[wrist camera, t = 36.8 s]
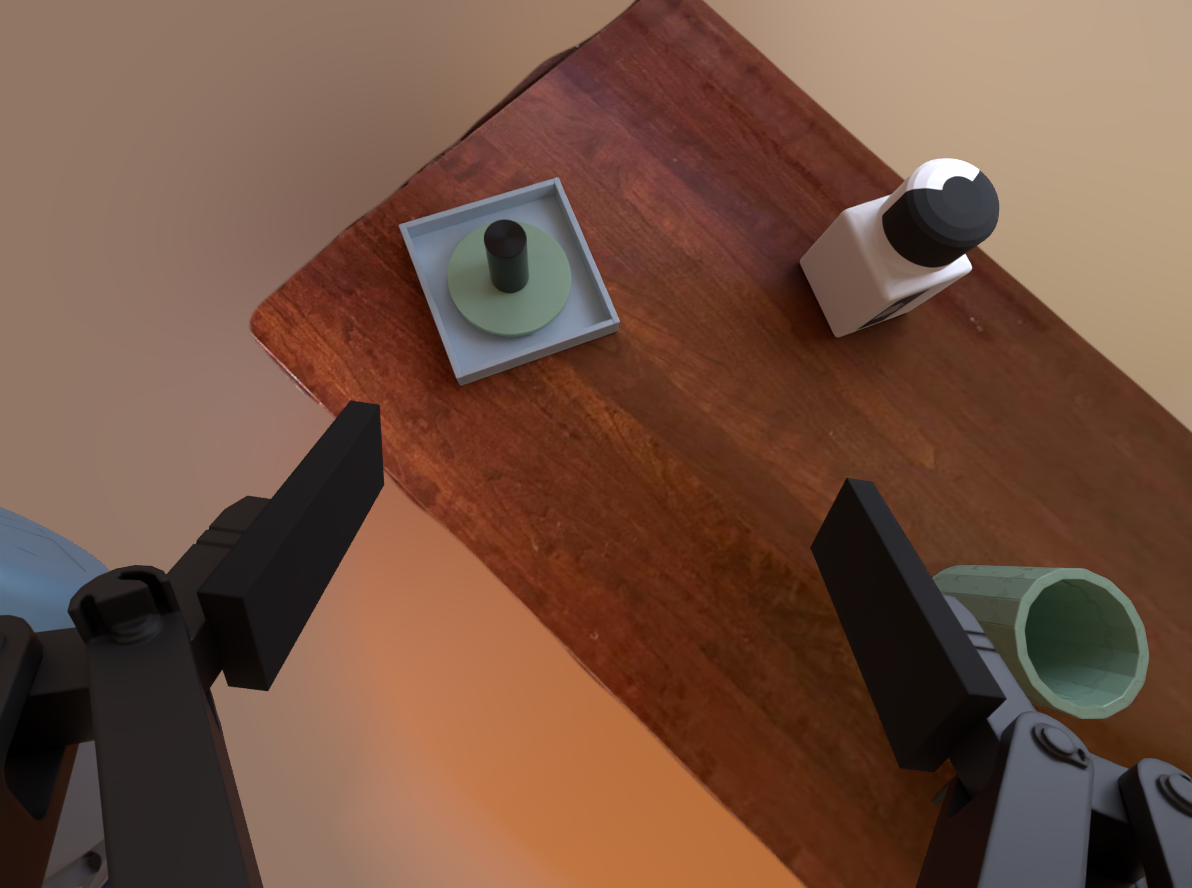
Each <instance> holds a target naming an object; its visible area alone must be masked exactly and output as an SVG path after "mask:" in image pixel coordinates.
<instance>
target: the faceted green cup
mask: <svg viewBox="0 0 1192 888" xmlns="http://www.w3.org/2000/svg"><path fill="white" fill-rule="evenodd" d="M932 579H933V580H934V582H935V583H936V585H937V587H938V588H939V590H940V591H941V593H942V594H945V595H951V596H954V597H955V598H956V599H957V600H958V601H960V602H961V603H962V604H963V605H964V606H965V607H966V608H967V609H968V610H969V611H970V612H971V613H972V614H973V615H974V617H975V618H976V620H977V621H978V623H979V624H980V626H981V627H982V629H983V631H984V632H985V637H988V638H989V640H990V641H991V643H992V644H993V646H994V647H995V652H996V653H999V655H1000V657H1001V658H1002V660H1003V661H1004V663H1005V664H1006V666H1007V667H1008V669H1009V670H1010V672H1011V673H1012V675H1013V676H1014V678H1015V679H1016V681H1017V683H1018V684H1019V686H1020V687H1021V689H1022V690H1023V692H1024V693H1025V695H1026V696H1027V698H1028V699H1029V701H1030V702H1031V704H1034V705H1038V706H1041V707H1044V708H1047V709H1051V710H1054V711H1057V712H1060V713H1063V714H1067V715H1070V716H1073V717H1076V718H1080V719H1097V718H1107V717H1110V716H1111V715H1113V714H1115V713H1117V712H1119V711H1121V710H1122V709H1124V708H1126V707H1128V706H1129V705H1130V704H1131V703H1132V701H1133V700H1134V698H1135V697H1136V695H1137V694H1138V692H1139V691H1140V689H1141V688H1142V686H1143V685H1144V684H1143V683H1145V677H1146V672H1147V667H1148V661H1149V651H1148V645H1147V639H1146V633H1145V628H1144V625H1143V623H1142V621H1141V619H1140V617H1139V615H1138V613H1137V612H1136V610H1135V608H1134V606H1133V604H1132V602H1131V601H1130V599H1129V598H1128V597H1127V596H1126V595H1124V594H1123V593H1122V592H1121V591H1120V590H1119V589H1118V588H1117V587H1116V586H1115V585H1114V584H1113V583H1112V582H1111V581H1110V580H1108V579H1106V578H1104V577H1102V576H1099V575H1097V574H1095V573H1092V572H1090V571H1088V570H1086V569H1079V568H1047V567H1016V566H985V565H957V566H953V567H949V568H947V569H944V570H942V571H941V572H939V573H938V574H936V575H935V576H934V577H933V578H932Z"/></svg>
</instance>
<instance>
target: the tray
mask: <svg viewBox="0 0 1192 888" xmlns="http://www.w3.org/2000/svg"><path fill="white" fill-rule="evenodd" d="M502 219H507V220H512V221H520V222H524V223H528V224H531V225H533V226H536V227H538V228H540V229H542V230H543V231H545V232H546V233H548V234H549V235H550V236H551V237H552V238H554V239H555V241H556V242H557V243H558V244H559V245H560V247H561V248H562V249H563V251H564V253H565V255H566V257H567V259H568V262H569V265H570V270H571V289H570V294H569V297H568V300H567V303H566V305H565V306H564V308H563V310H562V311H561V313H560V314H559V315H558V317H557V318H556V319H555V320H554V321H553V322H551V323H550V324H549V325H547V326H546V327H544V328H543V329H541V330H539V331H537V332H534V333H532V334H528V335H524V336H517V337H505V336H498V335H493V334H490V333H487V332H484V331H482V330H480V329H478V328H477V327H475V326H474V325H472V324H471V323H469V322H468V321H467V320H466V319H465V318H464V317H463V316H462V315H461V314H460V312H459V311H458V310H457V308H456V306H455V305H454V303H453V301H452V298H451V296H450V292H449V289H448V283H447V270H448V264H449V261H450V258H451V255H452V253H453V251H454V250H455V248H456V246H457V245H458V244H459V242H460V241H461V240H462V239H463V238H464V237H465V236H466V235H467V234H469V233H470V232H472V231H473V230H475V229H476V228H478V227H480V226H483V225H485V224H488V223H492V222H495V221H497V220H502ZM399 228H400V230H401V233H402V236H403V238H404V241H405V244H406V246H407V249H408V252H409V254H410V257H411V260H412V262H413V265H414V268H415V270H416V273H417V276H418V278H419V281H420V284H421V286H422V289H423V292H424V294H425V297H426V299H427V302H428V305H429V307H430V310H431V313H432V315H433V318H434V321H435V323H436V326H437V329H438V331H439V334H440V337H441V339H442V342H443V345H444V347H445V350H446V353H447V355H448V358H449V361H450V363H451V366H452V369H453V371H454V374H455V377H456V379H457V381H458V383H459V385H460V386H462V385H465V384H468V383H471V382H474V381H477V380H479V379H482V378H485V377H488V376H491V375H494V374H497V373H499V372H502V371H505V370H508V369H511V368H514V367H517V366H519V365H522V364H525V363H528V362H531V361H534V360H537V359H539V358H542V357H545V356H548V355H551V354H554V353H557V352H560V351H562V350H565V349H568V348H571V347H574V346H577V345H580V344H582V343H585V342H588V341H591V340H594V339H597V338H600V337H602V336H605V335H608V334H611V333H614V332H617V329H618V326H619V323H620V321H619V318H618V316H617V314H616V311H615V309H614V307H613V304H612V302H611V299H610V297H609V295H608V292H607V290H606V288H605V285H604V283H603V281H602V278H601V276H600V274H599V271H598V269H597V267H596V264H595V262H594V260H593V257H592V255H591V253H590V250H589V248H588V246H587V243H586V241H585V239H584V236H583V234H582V232H581V229H580V227H579V225H578V222H577V220H576V218H575V215H574V213H573V211H572V208H571V206H570V204H569V201H568V199H567V197H566V194H565V192H564V190H563V187H562V185H561V183H560V180H559V178H558V177H557V178H554V179H551V180H547V181H544V182H541V183H537V184H534V185H530V186H527V187H524V188H520V189H517V190H514V191H510V192H507V193H504V194H500V195H497V196H494V197H490V198H487V199H483V200H480V201H477V202H473V203H470V204H467V205H463V206H460V207H457V208H453V209H450V210H447V211H443V212H440V213H436V214H433V215H430V216H426V217H423V218H420V219H416V220H413V221H410V222H406V223H403V224H400V225H399Z"/></svg>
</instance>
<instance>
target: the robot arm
mask: <svg viewBox="0 0 1192 888" xmlns="http://www.w3.org/2000/svg"><path fill="white" fill-rule="evenodd" d="M383 486H384V474H383V456H382V438H381V421H380V405H377V404H370V403H364V402H358V401H350V402H349V403H348V404H347V406H346V407H345V408H344V409H343V411H342V412H341V413H340V414H339V416H338V417H337V418H336V419H335V421H334V422H333V423H332V424H331V425H330V427H329V428H328V429H327V431H326V432H325V433H324V434H323V436H322V437H321V438H320V439H319V440H318V442H317V443H316V444H315V445H314V446H313V448H312V449H311V450H310V451H309V453H308V454H307V455H306V456H305V458H304V459H303V460H302V461H301V463H300V464H299V465H298V466H297V468H296V469H295V470H294V471H293V472H292V474H291V475H290V476H289V477H288V479H287V480H286V481H285V482H284V484H283V485H282V486H281V488H280V489H279V490H278V491H277V492H276V494H275V495H274V496H273V497H272V499H267V498H260V497H253V496H246V497H245V498H243V499H241V500H239V501H238V502H236V503H234V504H233V505H231V506H229V507H228V508H226V509H225V510H224V511H223V512H222V513H221V514H220V515H219V516H218V517H217V518H216V519H215V521H214V522H213V523H212V524H211V525H210V526H209V530H206V531H205V532H204V533H203V534H202V535H201V536H200V537H199V538H198V540H197V543H196V544H193V545H192V546H191V547H190V548H189V550H188V551H187V552H186V553H185V554H184V555H183V556H182V557H181V559H180V560H179V561H178V562H177V563H176V564H175V566H173V568H172V569H171V570H170V571H169V572H168V573H167V574H165V573H164V571H162V570H160V569H157V568H155V567H153V566H142V565H133V566H128V567H123V568H117V569H115V570H112V571H110V570H109V569H108V568H107V567H106V566H105V565H104V564H103V563H101V562H100V561H99V560H98V559H97V558H95V557H94V556H93V555H91V554H90V553H88V552H87V551H86V550H84V549H82V548H81V547H79V546H77V545H76V544H74V543H73V542H71V541H69V540H67V539H66V538H64V537H62V536H60V535H59V534H57V533H55V532H53V531H51V530H49V529H47V528H45V527H43V526H42V525H39V524H37V523H35V522H33V521H31V520H29V519H27V518H25V517H22V516H20V515H18V514H16V513H13V512H11V511H9V510H6V509H4V508H2V507H0V888H104V887H105V886H106V885H107V884H108V883H109V888H263V885H262V881H261V877H260V874H259V870H258V866H257V862H256V858H255V855H254V851H253V847H252V843H251V839H250V835H249V832H248V828H247V824H246V820H245V817H244V813H243V809H242V805H241V801H240V798H239V794H238V790H237V786H236V783H235V779H234V775H233V771H232V767H231V764H230V760H229V757H228V752H227V748H226V745H225V741H224V737H223V733H222V730H221V726H220V722H219V718H218V714H217V711H216V707H215V703H214V699H213V696H212V693H211V690H210V687H211V686H212V684H213V683H214V681H215V680H216V678H217V676H218V675H219V674H220V672H221V671H222V670H223V672H224V675H225V678H226V681H227V684H228V686H230V687H239V688H247V689H255V690H263V691H268V690H269V689H270V687H271V685H272V683H273V681H274V680H275V678H276V676H277V674H278V673H279V671H280V669H281V667H282V665H283V664H284V662H285V660H286V658H287V657H288V655H289V653H290V651H291V649H292V648H293V646H294V644H295V642H296V641H297V639H298V637H299V635H300V633H301V632H302V630H303V628H304V626H305V625H306V623H307V621H308V619H309V617H310V616H311V613H312V612H313V610H314V609H315V607H316V605H317V603H318V601H319V600H320V598H321V596H322V594H323V592H324V590H325V589H326V587H327V585H328V584H329V582H330V580H331V578H332V576H333V575H334V573H335V571H336V569H337V568H338V566H339V564H340V562H341V560H342V559H343V557H344V555H345V553H346V552H347V550H348V548H349V546H350V545H351V543H352V541H353V539H354V537H355V536H356V534H357V532H358V530H359V529H360V527H361V525H362V523H363V521H364V520H365V518H366V516H367V514H368V513H369V511H370V509H371V507H372V505H373V504H374V502H375V500H376V498H377V497H378V495H379V493H380V491H381V489H382V488H383ZM810 548H811V550H812V553H813V555H814V557H815V560H816V562H817V565H818V567H819V570H820V572H821V575H822V577H823V580H824V582H825V585H826V587H827V590H828V592H829V594H830V597H831V599H832V602H833V604H834V607H835V609H836V612H837V614H838V617H839V619H840V622H841V624H842V627H843V629H844V631H845V634H846V636H847V639H848V641H849V644H850V646H851V649H852V651H853V654H854V656H855V659H856V661H857V664H858V666H859V668H860V671H861V673H862V676H863V678H864V681H865V683H866V686H867V688H868V691H869V693H870V696H871V698H872V701H873V703H874V705H875V708H876V710H877V713H878V715H879V718H880V720H881V723H882V725H883V728H884V730H885V733H886V735H887V738H888V740H889V742H890V745H891V747H892V750H893V752H894V755H895V757H896V760H897V762H898V765H899V767H900V768H903V769H912V770H920V771H928V772H935V771H936V770H937V769H938V768H939V767H940V766H941V765H942V764H943V763H944V762H945V761H946V760H947V759H948V758H950V760H951V762H952V764H953V766H954V768H955V770H956V772H957V775H956V776H955V777H954V778H952V779H951V780H950V781H949V782H948V783H947V784H946V785H945V786H944V787H943V788H942V789H941V790H940V791H939V792H938V793H937V794H936V795H935V796H934V797H933V799H932V800H931V801H932V802H933V803H934V804H936V805H937V804H938V803H939V802H940V801H941V800H942V799H944V801H943V804H942V807H941V810H940V813H939V816H938V819H937V822H936V825H935V829H934V832H933V835H932V838H931V841H930V844H929V847H928V850H927V854H926V857H925V860H924V863H923V866H922V869H921V872H920V875H919V878H918V882H917V885H916V888H1192V778H1191V777H1190V776H1188V775H1187V774H1186V773H1184V772H1183V771H1181V770H1179V769H1178V768H1176V767H1174V766H1172V765H1171V764H1169V763H1166V762H1163V761H1160V760H1158V759H1155V758H1146V759H1142V760H1141V761H1139V762H1138V763H1137V764H1135V765H1134V766H1132V767H1131V768H1130V769H1127V768H1125V767H1122V766H1120V765H1118V764H1115V763H1113V762H1110V761H1108V760H1105V759H1103V758H1101V757H1098V756H1096V755H1093V754H1091V753H1089V751H1088V750H1087V748H1086V746H1085V745H1084V744H1083V743H1082V741H1081V740H1080V739H1079V738H1078V737H1077V736H1076V735H1075V734H1074V733H1073V732H1072V731H1071V730H1070V729H1068V728H1067V727H1066V726H1064V725H1063V724H1062V723H1060V722H1059V721H1057V720H1055V719H1053V718H1052V717H1050V716H1048V715H1046V714H1043V713H1039V712H1037V711H1036V710H1035V708H1034V707H1033V705H1032V704H1031V702H1030V701H1029V699H1028V698H1027V696H1026V695H1025V693H1024V692H1023V690H1022V689H1021V687H1020V686H1019V684H1018V683H1017V681H1016V679H1015V678H1014V676H1013V675H1012V673H1011V672H1010V670H1009V669H1008V667H1007V666H1006V664H1005V663H1004V661H1003V660H1002V658H1001V657H1000V655H999V653H996V652H995V647H994V646H993V644H992V643H991V641H990V640H989V638H988V637H985V632H984V631H983V629H982V627H981V626H980V624H979V623H978V621H977V620H976V618H975V617H974V615H973V614H972V613H971V612H970V611H969V610H968V609H967V608H966V607H965V606H964V605H963V604H962V603H961V602H960V601H958V600H957V599H956V598H955V597H954V596H951V595H945V594H942V593H941V591H940V590H939V588H938V587H937V585H936V583H935V582H934V580H933V579H932V577H931V575H930V574H929V572H928V571H927V569H926V567H925V566H924V564H923V563H922V561H921V559H920V558H919V556H918V554H917V553H916V551H915V550H914V548H913V546H912V545H911V543H910V542H909V540H908V538H907V537H906V535H905V534H904V532H903V530H902V529H901V527H900V525H899V524H898V522H897V521H896V519H895V517H894V516H893V514H892V513H891V511H890V509H889V508H888V506H887V505H886V503H885V501H884V500H883V498H882V496H881V495H880V493H879V492H878V490H877V488H876V487H875V485H874V484H873V482H870V481H864V480H857V479H851V478H846V480H845V482H844V484H843V486H842V488H841V490H840V492H839V494H838V496H837V497H836V499H835V501H834V503H833V505H832V507H831V509H830V511H829V513H828V515H827V517H826V519H825V520H824V522H823V524H822V526H821V528H820V530H819V532H818V534H817V536H816V538H815V540H814V542H813V543H812V545H811V547H810ZM1145 876H1146V879H1147V884H1146V880H1145ZM1147 885H1148V887H1147Z"/></svg>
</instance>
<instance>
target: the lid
mask: <svg viewBox="0 0 1192 888" xmlns="http://www.w3.org/2000/svg"><path fill="white" fill-rule="evenodd" d="M447 283H448V289H449V292H450V296H451V298H452V301H453V303H454V305H455V306H456V308H457V310H458V311H459V312H460V314H461V315H462V316H463V317H464V318H465V319H466V320H467V321H468V322H469V323H471V324H472V325H474V326H475V327H477V328H478V329H480V330H482V331H484V332H487V333H490V334H493V335H498V336H505V337H517V336H524V335H528V334H532V333H534V332H537V331H539V330H541V329H543V328H544V327H546V326H547V325H549V324H550V323H551V322H553V321H554V320H555V319H556V318H557V317H558V315H559V314H560V313H561V311H562V310H563V308H564V306H565V305H566V303H567V300H568V297H569V294H570V289H571V270H570V265H569V262H568V259H567V257H566V255H565V253H564V251H563V249H562V248H561V247H560V245H559V244H558V243H557V242H556V241H555V239H554V238H552V237H551V236H550V235H549V234H548V233H546V232H545V231H543V230H542V229H540V228H538V227H536V226H533V225H531V224H528V223H524V222H520V221H512V220H507V219H502V220H497V221H495V222H492V223H488V224H485V225H483V226H480V227H478V228H476V229H475V230H473V231H472V232H470V233H469V234H467V235H466V236H465V237H464V238H463V239H462V240H461V241H460V242H459V244H458V245H457V246H456V248H455V250H454V251H453V253H452V255H451V258H450V261H449V264H448V270H447Z"/></svg>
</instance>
